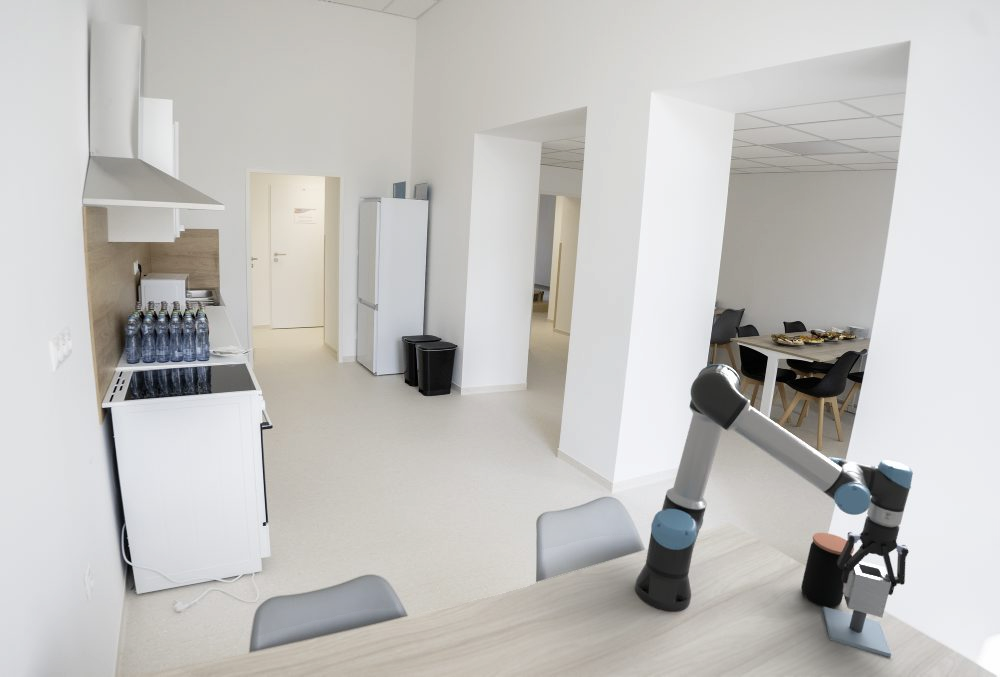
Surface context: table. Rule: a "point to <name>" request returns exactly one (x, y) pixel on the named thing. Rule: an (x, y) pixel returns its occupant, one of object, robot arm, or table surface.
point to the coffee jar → (824, 571)
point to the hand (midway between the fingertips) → (863, 598)
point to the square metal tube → (868, 589)
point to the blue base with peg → (856, 631)
